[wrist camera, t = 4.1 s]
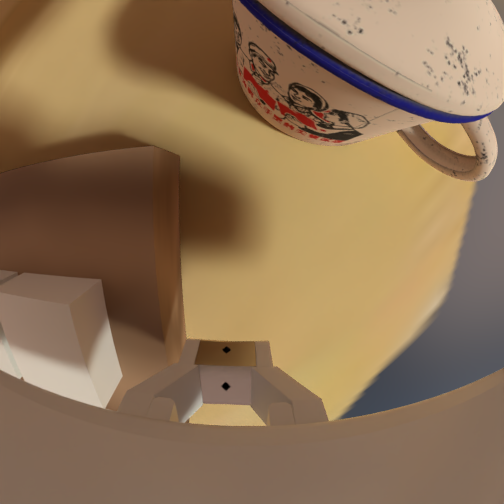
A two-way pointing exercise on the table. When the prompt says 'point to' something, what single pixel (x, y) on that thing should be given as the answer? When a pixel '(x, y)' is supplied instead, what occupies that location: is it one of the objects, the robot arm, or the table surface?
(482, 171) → the teacup with lid
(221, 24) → the table surface
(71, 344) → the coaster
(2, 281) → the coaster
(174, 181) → the walnut board
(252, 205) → the table surface
